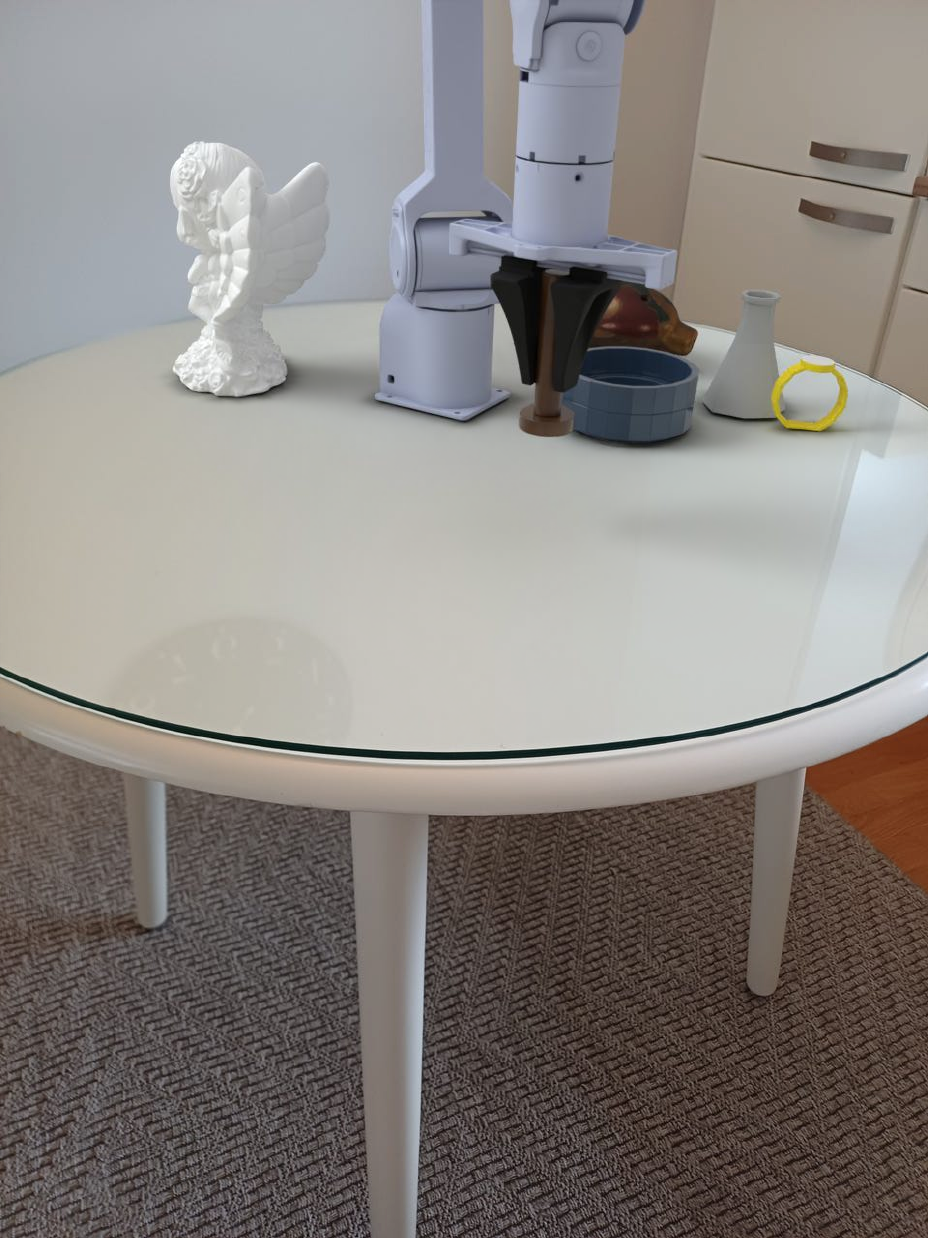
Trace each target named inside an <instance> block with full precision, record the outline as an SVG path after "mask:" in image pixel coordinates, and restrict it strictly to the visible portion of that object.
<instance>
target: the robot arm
mask: <svg viewBox="0 0 928 1238" xmlns="http://www.w3.org/2000/svg"><path fill="white" fill-rule="evenodd" d="M646 2H647V0H509V9H510V10H509V11H510V16H511V21H512V55H513V65H514V66H515V67H518V68H519V78H518V79H519V83H518V103H517V104H518V105H517V124H516V143H515V146H516V147H515V161H514V163H515V165H514V185H513V186H514V187H513V201H512V200H511V198H510V196H509V195H508V194H507V193H506V192H505V191H504V190H503V189H501V188H500V187H498V185H497V184H495V183H494V182H493V181H492V180H491V179H489V177H487V176H486V175H485V173H484V0H421V41H422V43H421V45H422V46H421V48H422V84H423V85H422V89H423V91H422V92H423V95H422V96H423V97H422V98H423V99H422V100H423V137H424V138H423V140H424V141H423V142H424V171H423V172H422V173H421V175H419V176H418V177H417V178H416V179H415V180H413V182H411V183H410V184H409V185H408V186H406V187H405V188H404V189H403V190H402V191H401V192H400V193H399V194H397V196H396V197H395V199H394V201H393V205H392V206H391V228H390V232H389V240H388V241H389V243H388V247H389V248H388V254H389V255H388V256H389V269H390V270H389V271H390V276H391V280H392V285H393V288H394V290H396V292H395V293H394V294H393V295H392V296H391V297H390V298H389V299H388V300H387V301H386V303H385V305H384V307H383V311H382V313H381V316H380V321H379V330H378V331H379V332H378V333H379V334H378V336H379V338H378V339H379V340H378V341H379V342H378V343H379V392H376V393H375V394H374V399H375V400H376V401H379V402H384V403H387V404H392V405H396V406H399V407H404V408H409V409H412V410H417V411H421V412H425V413H429V414H434V415H437V416H442V417H445V418H450V419H454V420H458V421H469V420H470V419H471V418H473V417H475V416H477V415H479V414H481V413H482V412H484V411H486V410H488V409H489V408H492V407H493V406H496V405H497V404H499V403H500V402H502V401H504V400H507V399H508V398H509V397H510V396H511V392H510V391H509V390H505V389H502V388H496V387H492V379H493V353H494V352H493V351H494V328H495V327H494V326H495V305H496V304H497V305H498V304H500V307H501V310H502V311H503V313H504V316H505V319H506V321H507V324H508V327H509V330H510V333H511V337H512V340H513V345H514V348H515V353H516V358H517V363H518V368H519V374H520V380H521V384H522V385H526V386H530V387H531V386H532V385H535V380H536V365H537V349H538V334H539V318H540V303H541V287H542V273H543V271H545V270H549V269H556V270H562V271H568V272H569V277H564V278H562V279H560V280H557V281H555V282H552V283H551V286H550V291H551V296H552V302H553V309H554V319H555V355H554V367H553V389H554V391H557V392H561V393H564V392H566V391H568V390H570V389H571V388H573V387H575V386H576V385H577V383H578V379H579V375H580V372H581V368H582V365H583V362H584V359H585V356H586V353H587V350H588V348H589V345H590V343H591V340H592V338H593V336H594V333H595V331H596V329H597V327H598V325H599V323H600V321H601V319H602V317H603V315H604V314H605V312H606V310H607V308H608V307H609V305H610V303H611V302H612V300H613V298H614V297H615V295H616V294H617V292H618V291H619V289H620V287H621V285H622V281H628V282H634V283H640V284H645V287H646V288H651V289H655V290H657V291H661V290H664V289H666V288H668V287H670V286H671V285H673V284H674V283H675V275H676V267H677V258H678V250H676V249H671V248H665V247H660V246H656V245H651V244H646V243H643V242H639V241H636V240H631V239H628V238H623V237H620V236H616V235H612V234H608V229H609V221H610V220H609V219H610V209H611V208H610V207H611V196H612V187H613V186H612V185H613V176H614V175H613V174H614V164H615V153H616V142H617V132H618V121H619V110H620V99H621V88H622V77H623V76H622V75H623V66H624V65H623V64H624V54H625V53H624V52H625V43H626V36H628V35H630V34H631V33H632V32H634V31H635V29H636V27H637V26H638V25H639V22H640V20H641V18H642V16H643V13H644V10H645V6H646ZM475 211H476V212H481V213H483V214H484V215H478V216H477V215H475V216H474V215H472V216H471V215H470V216H432V217H431V216H429V217H427V216H426V217H423V215H425V214H429V213H438V212H443V213H444V212H475Z"/></svg>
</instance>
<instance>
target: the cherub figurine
mask: <svg viewBox="0 0 928 1238" xmlns="http://www.w3.org/2000/svg"><path fill="white" fill-rule="evenodd" d="M169 187H170V188H169V189H170V193H171V198H172V201H173V205H174V207H175V208H176V209H177V212H178V213H177V214H178V217H177V222H176V236H177V238H178V240H179V242H181V243H182V244H183V245H185V246H187V247H191V248H194V249H198V250H199V251H200V252H201V254H198V255H196V257H195V258H194V261H193V264H192V265H191V267H190V268H189V270H188V273H187V281H188V283H189V284H191V285H193V287H192V291H191V293H190V299H189V300H188V306H187V307H188V311H189V312H190V313H192V314H193V315H194V316H196V317H197V318H199V319H201V320H202V321H203V322H204V323H205V324H206V325H204V326H203V328H202V329H201V332H200V333H201V335H199V337H198V338H197V340H196V341H193V342H192V343H191V345H190V346H189V347H188V348H187V351H186V352H184V354H183V353H181V354H180V355H178V356H177V357H176V359H175V360H174V364H173V366H172V372H173V373H174V374H176V375H177V376H178V377H179V380H180V382H181V384H183V385H184V386H185V387H187V388H189V390H190V391H194V392H198V393H203V392H204V393H207V392H208V393H212V394H213V395H215V396H217V397H236V398H239V397H244V396H249V395H254V394H261V393H265V392H267V391H269V390H270V389H271V388H273V387H275V386H278V385H281V384H283V383H284V382H285V381H286V379H287V377H286V376H287V375H288V367H287V364H286V361H285V354H284V353H283V352H282V349H281V346H280V345H279V344H275V343H274V339H273V338H272V337H271V336H272V335H271V333H270V332H268V331H266V329H264V326H263V324H264V323H263V321H262V317H263V313H264V312H263V311H264V305H267V304H268V305H277V304H281V303H283V302H284V300H285V299H286V298H287V297H288V296H291V295H293V294H295V293H296V292H298V291H299V290H300V289H301V288H302V287H303V286H304V283H305V282H306V281H308V280H309V279H311V278H312V277H313V276H314V275H315V273H316V272H317V270H318V266H319V263H320V262H321V260H322V258H323V257H324V256H325V253H326V248H327V241H326V235H327V232H328V230H329V226H330V216H331V215H330V209H329V206H328V203H327V202H326V196H327V192H328V189H329V175H328V172H327V169H325V167H324V166H323V164H322V163H321V162H319V161H314V162H311V163H309V164H308V165H306V166H305V167H304V168H303V169H302V170H300V171H299V172H297V174H296V175H295V176H294V177H293V178H292V179H291V180H290V181H289V182H288V183H287V184H285V185H284V187H282V188H281V189H279V190H278V191H277V192H275V193H273V194H269V193H268V192H267V184H266V179H265V176H264V174H263V171H262V170H261V168H260V166H259V165H258V164H257V163H256V162H255V161H254V160H253V159H252V158H251V157H250V156H249V155H248V154H246V153H244V152H243V151H241V150H240V149H238V148H235V147H233V146H230V145H228V144H226V143H222V142H205V140H200V141H198V140H197V141H194V142H192V143H190V144H188V145H187V146H186V147H185V148H184V149H183V153H181V154H180V157H179V158H178V159H177V160H176V161H175V162H174V164H173V165H172V167H171V171H170V175H169Z"/></svg>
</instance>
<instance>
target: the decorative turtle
mask: <svg viewBox="0 0 928 1238" xmlns="http://www.w3.org/2000/svg"><path fill="white" fill-rule="evenodd" d="M698 335H699V332H698V330H697V329H696V328H695V327H693V326H691V325H689V324H686V323H684V322H683V321H681V320H680V315H679V314H678V310H677V308H676V307H675V305H674V303H673V302H672V301H671V300H670V298H668V297H667V296H666V295H665V294H664V293H663V292H661V291H660V290H657V289H651V288H646V287H645V284H640V283H634V282H628V281H622V285H621V287H620V289H619V291H618V292H617V294H616V295H615V297H614V298H613V300H612V302H611V303H610V305H609V307H608V308H607V310H606V312H605V314H604V315H603V317H602V319H601V321H600V323H599V325H598V327H597V329H596V331H595V333H594V336H593V338H592V340H591V343H590V345H589V348H596V347H606V346H607V347H608V346H626V347H638V348H647V349H653V350H658V351H663V352H668V353H671V354H674V355H677V356H680V357H687V356H688V355H689V354H690V353H692V351H693V349H694V347H695V344H696V341H697V338H698Z"/></svg>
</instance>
